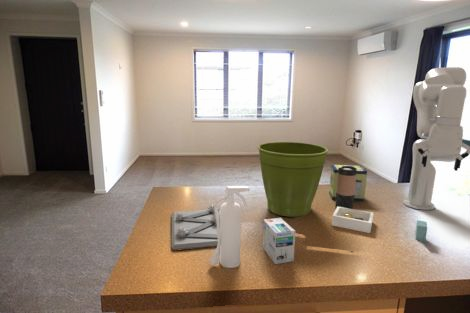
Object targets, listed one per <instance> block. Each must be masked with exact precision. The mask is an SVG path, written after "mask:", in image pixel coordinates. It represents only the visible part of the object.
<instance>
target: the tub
mask: <svg viewBox="0 0 470 313" xmlns="http://www.w3.org/2000/svg"><path fill="white" fill-rule="evenodd" d="M344 213H351V214H352V218H347V217H344ZM374 214H375V213H374V212H372V211H366V210H360V209H354V208H353V209H349V208H344V207H338V206H337V208H336V209H335V210H334V212H333V214H332V216H331V226H334V227H339V228H344V229H348V230H353V231H358V232H362V233H368V234H371V231H372V228H373V220H374ZM355 217H357V218H363V220H364V221H363V220H358V219H355Z"/></svg>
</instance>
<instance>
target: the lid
mask: <svg viewBox="0 0 470 313" xmlns="http://www.w3.org/2000/svg"><path fill="white" fill-rule="evenodd" d="M415 224H416V225H415V231H414V236H415V241H416V240H417V241H421V242H422V244H425V243H426V238H427V233H428V222H427V221H424V220H418V219H417V220H416V223H415Z"/></svg>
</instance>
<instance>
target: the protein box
mask: <svg viewBox="0 0 470 313" xmlns="http://www.w3.org/2000/svg"><path fill="white" fill-rule="evenodd" d="M342 166H350V167H354V168H356V169H357V171H356V183H355V194H354V202H365V199H366V197H365V196H366V187H367V178H368V177H367V176H368V170H366V169H365V168H364V167H363V166H362V165H353V164H351V165H349V164H347V165H345V164H331V165H330V175H329V176H330V177H329V191H328V193H329V195H330V197H331V199H332V200H333V201H336V189H337V178H338V168H341V167H342Z"/></svg>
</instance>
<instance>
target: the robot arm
mask: <svg viewBox="0 0 470 313" xmlns="http://www.w3.org/2000/svg"><path fill="white" fill-rule="evenodd" d="M466 81H467V73H466V70H465V69H464V68H462V67H460V66H459V67H456V66H455V67H454V66H452V67H451V66H450V67H435V68H432V69H430V70H428V72H427V73H426V74H425V79H424V80H423V81H419V82H417V83H415V85H414V87H413V90H412V91H413V92H412V96H413V103H414V106H415V109H416V111H417V112H416V114H417V118H416V133H417V136H418V137H419V138H420V139H417V140H415V141H414V142H413V144H412V165H411V166H412V167H411V174H410V179H409V188H408V193H407V194H408V196H407V198H405V199H403V205H406V207H409V208H411V209H417V210H421V211H431V210H434V209H435V204H434V203H433V202H432V200H433V199H432V198H433V192H434V187H435V186H434V185H435V179H436V172H437V170H436V168H435V166H434V165H433V164H432V163H431V162H434V161H435V162H445V163H452V162H453V163H454V166H453V170H454V171H458V169H460V168H461V163H462V161H463V160H464V159H465V158H467V157H468V156H469V155H470V146H469V145H467V144H465V143H464V142H463V137H464V134H463V133H464V129H463V128H464V127H463V126H462V125H461V123H462V117H463V112H464V107H465V106H464V105H465V101H466V97H467V87H465V86H464V85H465V84H466ZM462 149H465V150H466V151H465V152H463V153H461V151H462Z"/></svg>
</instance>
